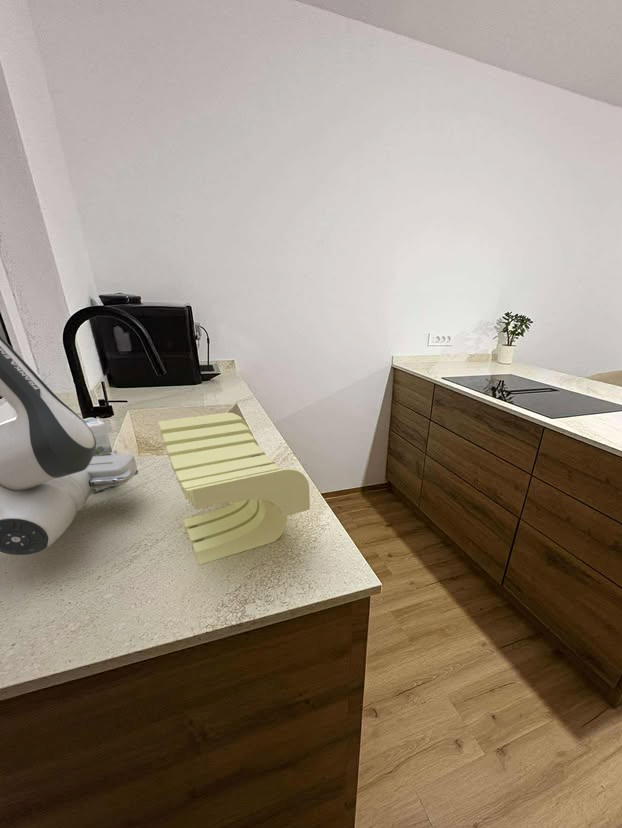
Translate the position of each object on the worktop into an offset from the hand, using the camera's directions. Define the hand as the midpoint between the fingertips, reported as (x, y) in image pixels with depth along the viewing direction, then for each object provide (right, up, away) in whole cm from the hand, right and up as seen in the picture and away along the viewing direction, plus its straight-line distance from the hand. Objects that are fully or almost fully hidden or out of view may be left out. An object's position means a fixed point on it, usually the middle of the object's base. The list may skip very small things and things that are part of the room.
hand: (87, 455), depth 78 cm
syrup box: (-1, -6, +6) cm, 9 cm away
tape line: (-3, -4, +11) cm, 12 cm away
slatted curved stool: (+33, -14, -7) cm, 37 cm away
